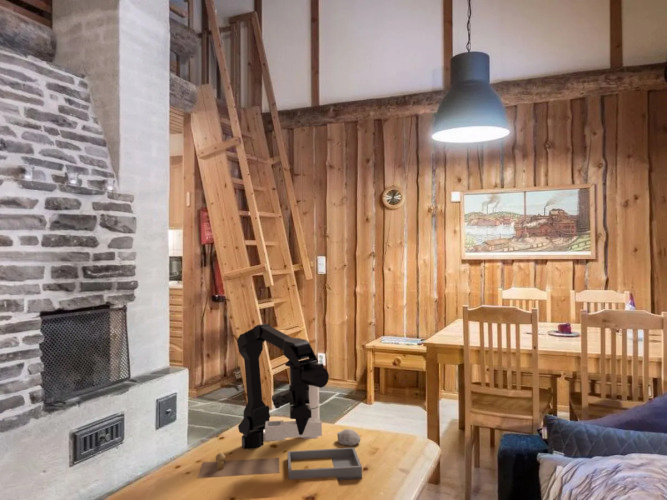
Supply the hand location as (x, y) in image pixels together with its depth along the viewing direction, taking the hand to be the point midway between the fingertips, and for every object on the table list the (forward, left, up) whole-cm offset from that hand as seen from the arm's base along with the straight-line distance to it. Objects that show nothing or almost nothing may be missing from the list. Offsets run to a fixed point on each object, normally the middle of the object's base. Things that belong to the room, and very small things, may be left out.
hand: (300, 432), depth 158 cm
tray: (-6, +3, -12) cm, 14 cm away
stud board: (+16, -10, -12) cm, 22 cm away
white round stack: (-4, -30, -12) cm, 33 cm away
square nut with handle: (+2, -1, -1) cm, 2 cm away
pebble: (-24, -11, -12) cm, 29 cm away
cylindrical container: (-16, -24, -12) cm, 31 cm away
